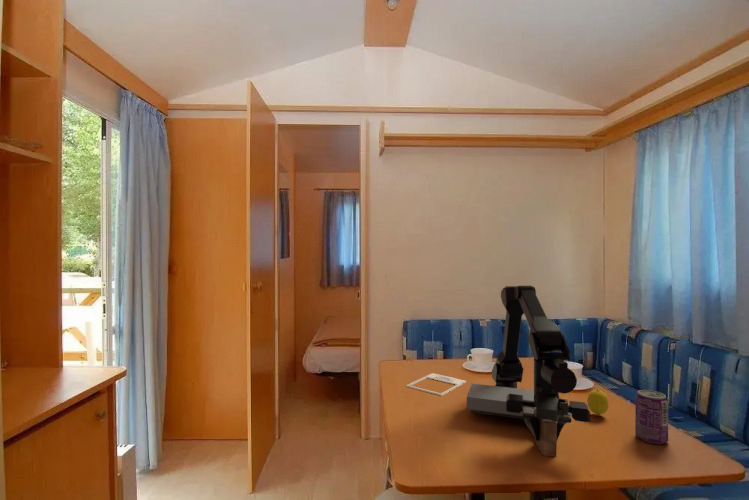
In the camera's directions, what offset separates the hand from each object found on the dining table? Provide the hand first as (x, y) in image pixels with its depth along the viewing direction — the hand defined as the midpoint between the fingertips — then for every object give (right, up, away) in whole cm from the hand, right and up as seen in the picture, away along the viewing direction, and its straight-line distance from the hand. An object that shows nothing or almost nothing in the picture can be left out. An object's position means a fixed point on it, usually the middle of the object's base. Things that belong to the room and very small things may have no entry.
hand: (546, 441), depth 100 cm
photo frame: (-20, -3, +49) cm, 53 cm away
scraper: (0, -2, +6) cm, 7 cm away
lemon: (+24, -2, +20) cm, 32 cm away
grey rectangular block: (-5, -2, +18) cm, 19 cm away
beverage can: (+30, -2, +6) cm, 31 cm away
